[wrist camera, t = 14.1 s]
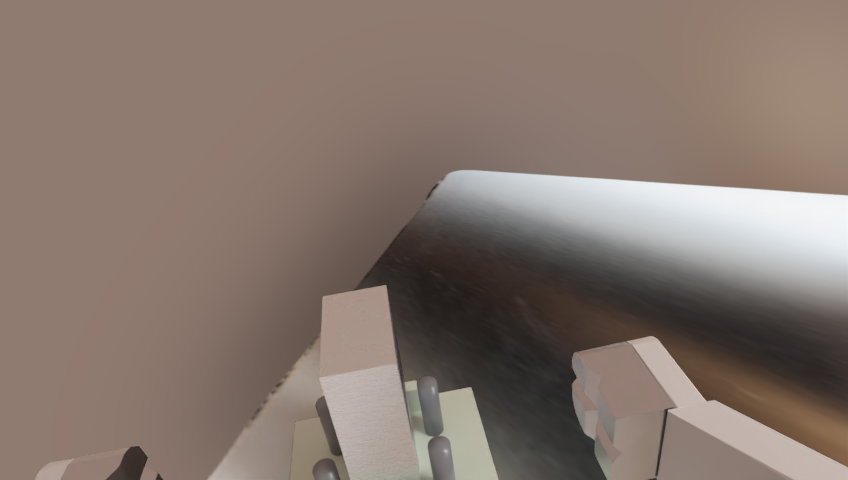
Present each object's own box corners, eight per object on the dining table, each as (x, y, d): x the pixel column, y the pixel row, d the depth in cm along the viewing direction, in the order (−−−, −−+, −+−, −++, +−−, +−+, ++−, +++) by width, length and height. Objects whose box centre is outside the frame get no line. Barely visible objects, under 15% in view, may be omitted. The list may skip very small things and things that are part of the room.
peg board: (472, 397, 36) (466, 342, 33) (513, 540, 27) (510, 481, 25) (298, 431, 35) (279, 378, 33) (285, 589, 27) (258, 533, 24)
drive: (413, 423, 33) (386, 284, 28) (426, 511, 28) (397, 363, 23) (360, 434, 33) (322, 296, 28) (364, 525, 28) (318, 378, 23)
